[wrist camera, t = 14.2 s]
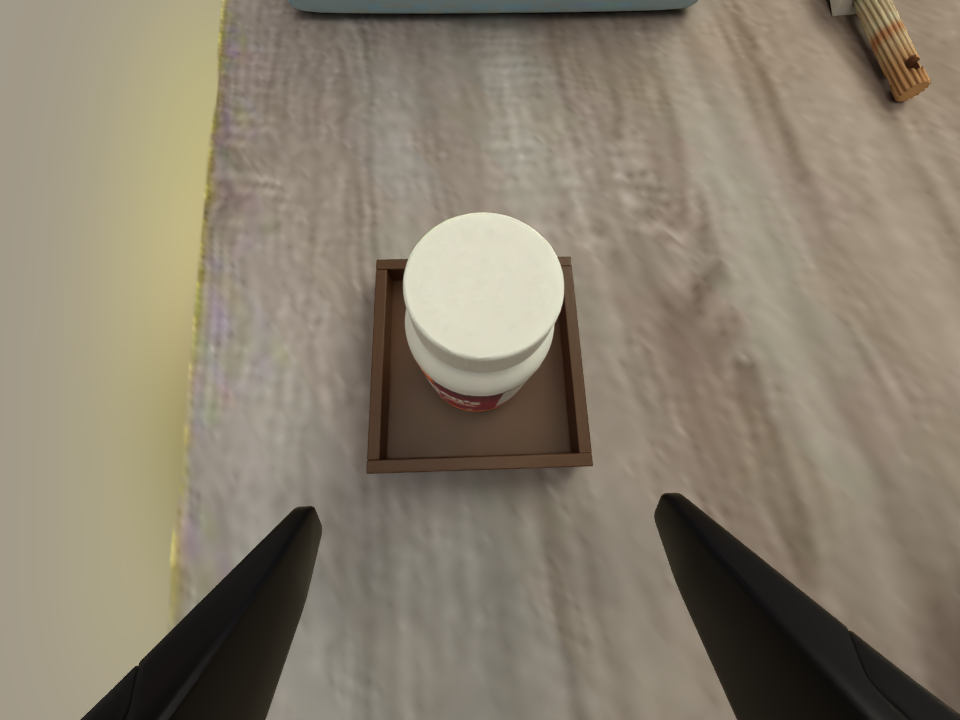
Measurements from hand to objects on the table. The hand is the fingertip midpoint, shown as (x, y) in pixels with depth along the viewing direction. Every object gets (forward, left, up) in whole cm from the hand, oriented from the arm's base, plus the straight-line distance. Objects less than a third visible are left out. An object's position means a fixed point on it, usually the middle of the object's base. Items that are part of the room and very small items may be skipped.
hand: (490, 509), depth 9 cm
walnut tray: (+4, +5, -12) cm, 14 cm away
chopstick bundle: (+51, +8, -12) cm, 53 cm away
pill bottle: (+4, +5, -12) cm, 13 cm away
